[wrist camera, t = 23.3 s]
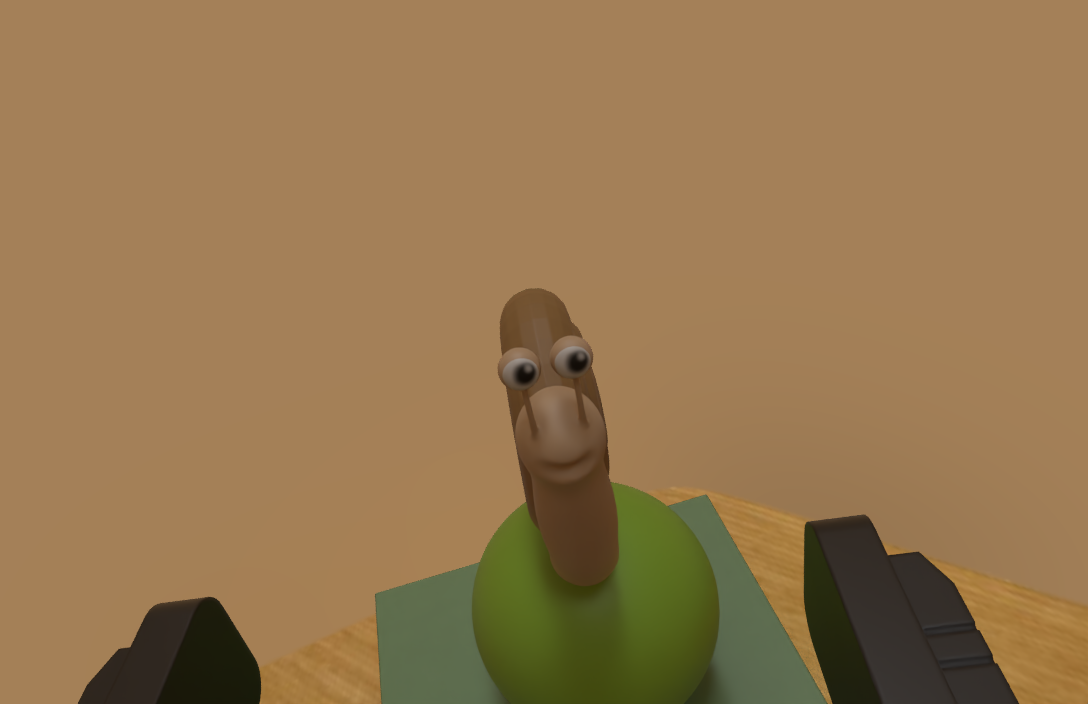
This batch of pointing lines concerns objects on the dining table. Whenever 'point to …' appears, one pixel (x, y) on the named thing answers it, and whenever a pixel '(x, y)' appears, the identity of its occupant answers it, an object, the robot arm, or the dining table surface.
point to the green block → (474, 700)
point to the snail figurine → (583, 546)
